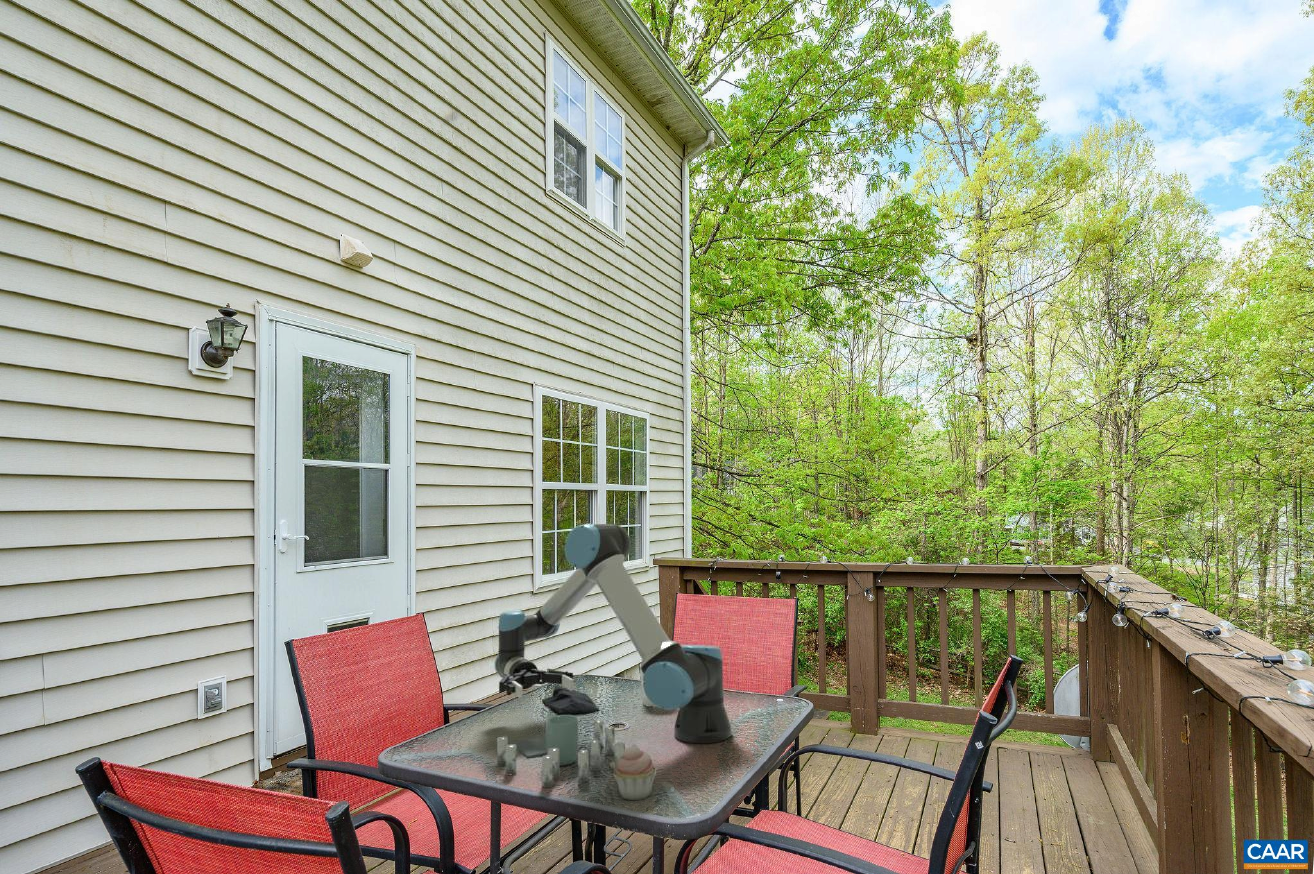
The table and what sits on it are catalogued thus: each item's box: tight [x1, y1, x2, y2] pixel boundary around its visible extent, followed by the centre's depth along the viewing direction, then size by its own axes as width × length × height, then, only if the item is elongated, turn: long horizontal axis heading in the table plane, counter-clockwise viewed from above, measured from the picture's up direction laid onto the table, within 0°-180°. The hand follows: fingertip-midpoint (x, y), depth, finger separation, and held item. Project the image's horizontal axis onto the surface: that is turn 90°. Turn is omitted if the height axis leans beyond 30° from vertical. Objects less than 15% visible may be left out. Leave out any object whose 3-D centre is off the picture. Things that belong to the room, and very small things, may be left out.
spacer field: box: [496, 719, 629, 789], centre depth 160 cm, size 22×32×6 cm
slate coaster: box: [512, 736, 547, 759], centre depth 174 cm, size 12×12×1 cm
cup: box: [545, 714, 580, 767], centre depth 162 cm, size 8×8×10 cm
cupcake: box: [612, 743, 658, 801], centre depth 142 cm, size 9×9×10 cm
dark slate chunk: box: [541, 685, 601, 715], centre depth 214 cm, size 15×22×5 cm
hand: (547, 688), depth 172 cm, fingers open, 13 cm apart
